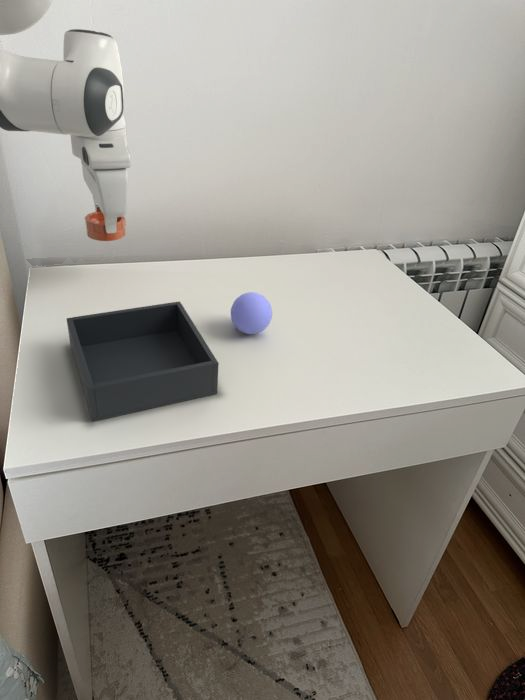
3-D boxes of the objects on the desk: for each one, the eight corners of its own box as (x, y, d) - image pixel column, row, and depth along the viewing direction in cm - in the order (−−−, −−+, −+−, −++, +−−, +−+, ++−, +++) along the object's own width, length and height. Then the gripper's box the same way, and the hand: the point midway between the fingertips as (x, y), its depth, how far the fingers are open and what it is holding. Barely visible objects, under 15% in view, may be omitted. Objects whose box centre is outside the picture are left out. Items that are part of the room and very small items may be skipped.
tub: (92, 422, 70) (87, 389, 67) (70, 348, 83) (66, 318, 80) (217, 393, 77) (218, 362, 74) (180, 330, 90) (179, 301, 86)
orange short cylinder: (90, 242, 93) (88, 226, 92) (83, 228, 98) (82, 212, 97) (129, 239, 96) (128, 223, 94) (120, 225, 101) (119, 209, 99)
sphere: (253, 347, 87) (256, 310, 83) (221, 330, 91) (222, 294, 87) (278, 330, 92) (282, 295, 88) (247, 315, 95) (249, 280, 91)
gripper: (69, 127, 94) (77, 204, 102) (91, 161, 80) (99, 247, 87) (105, 127, 97) (111, 201, 105) (133, 160, 82) (137, 244, 90)
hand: (105, 223), depth 96 cm, fingers closed on orange short cylinder, 7 cm apart
